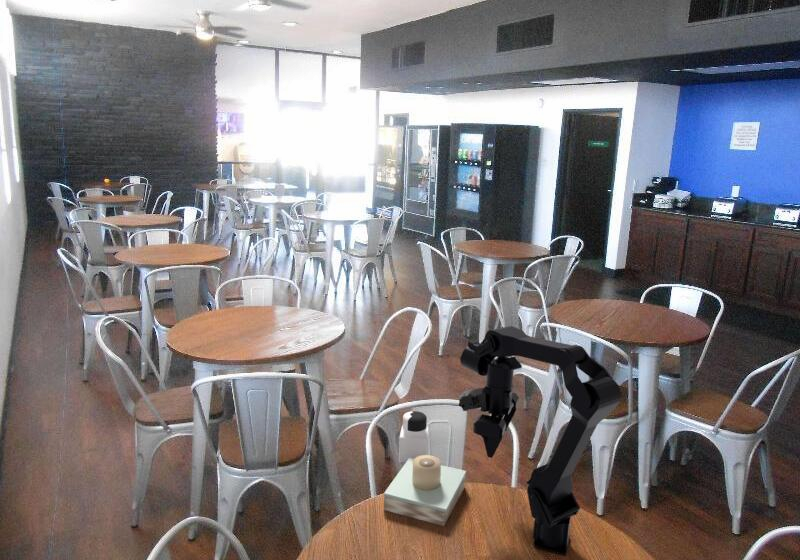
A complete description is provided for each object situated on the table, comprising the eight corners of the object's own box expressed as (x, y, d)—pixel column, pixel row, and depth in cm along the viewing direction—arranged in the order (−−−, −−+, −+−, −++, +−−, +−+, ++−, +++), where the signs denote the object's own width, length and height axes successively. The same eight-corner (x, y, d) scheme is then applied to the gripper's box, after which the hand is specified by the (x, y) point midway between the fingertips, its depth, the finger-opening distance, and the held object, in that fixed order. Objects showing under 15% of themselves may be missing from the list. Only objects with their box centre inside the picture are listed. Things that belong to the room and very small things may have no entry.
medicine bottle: (428, 451, 157) (429, 409, 154) (426, 465, 150) (428, 421, 147) (401, 449, 157) (402, 407, 155) (398, 463, 150) (399, 419, 148)
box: (464, 487, 141) (465, 475, 140) (443, 526, 126) (444, 513, 125) (409, 473, 146) (410, 462, 145) (383, 509, 131) (384, 497, 130)
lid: (466, 473, 140) (466, 470, 139) (446, 512, 126) (446, 509, 125) (409, 460, 145) (409, 457, 145) (383, 496, 131) (383, 493, 131)
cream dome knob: (443, 477, 137) (444, 458, 135) (435, 493, 131) (435, 473, 130) (417, 471, 139) (418, 452, 138) (408, 486, 133) (408, 466, 132)
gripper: (474, 363, 141) (471, 423, 145) (451, 392, 124) (448, 459, 128) (521, 370, 137) (516, 432, 141) (504, 401, 120) (499, 470, 124)
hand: (494, 447), depth 133 cm, fingers open, 9 cm apart
